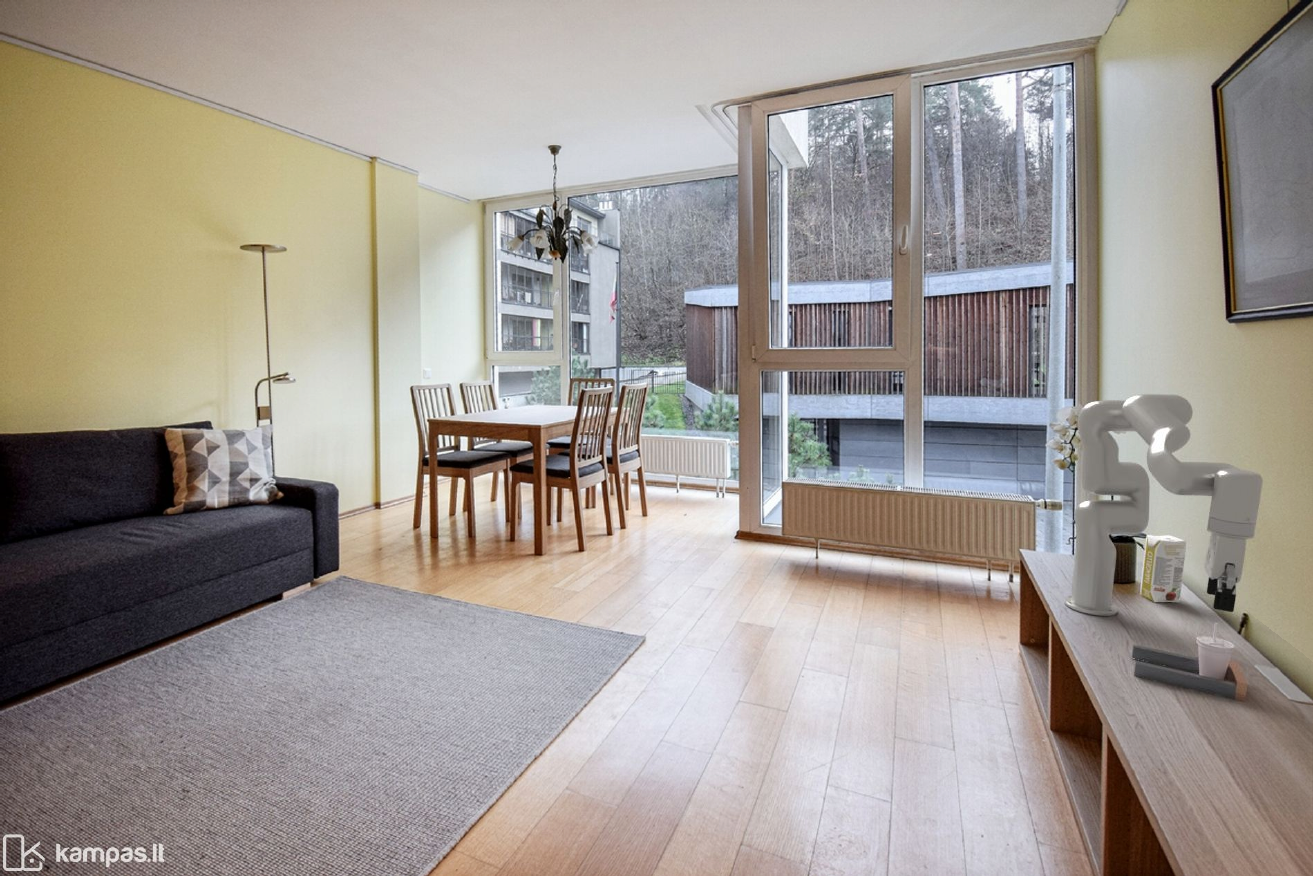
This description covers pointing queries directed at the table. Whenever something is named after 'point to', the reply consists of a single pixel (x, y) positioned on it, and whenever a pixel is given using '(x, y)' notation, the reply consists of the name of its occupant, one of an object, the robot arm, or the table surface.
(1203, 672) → the smoothie
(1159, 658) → the grey frame
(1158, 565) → the juice carton
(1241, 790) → the table surface
